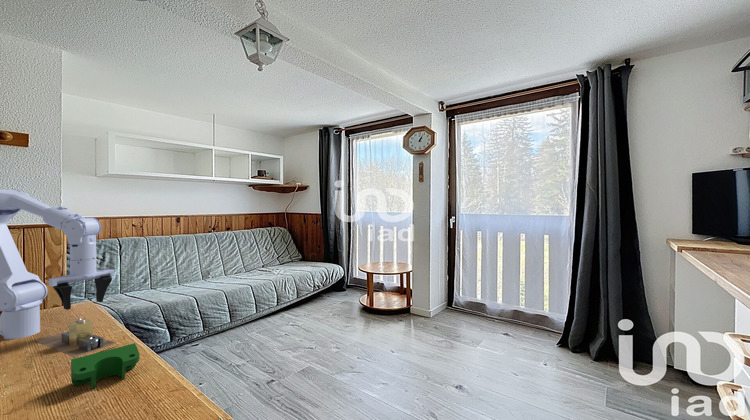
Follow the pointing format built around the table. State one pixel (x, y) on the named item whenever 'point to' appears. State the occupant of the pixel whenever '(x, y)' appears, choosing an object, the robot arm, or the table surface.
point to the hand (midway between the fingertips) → (84, 305)
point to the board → (68, 349)
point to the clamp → (104, 365)
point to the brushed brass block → (79, 330)
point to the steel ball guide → (85, 342)
